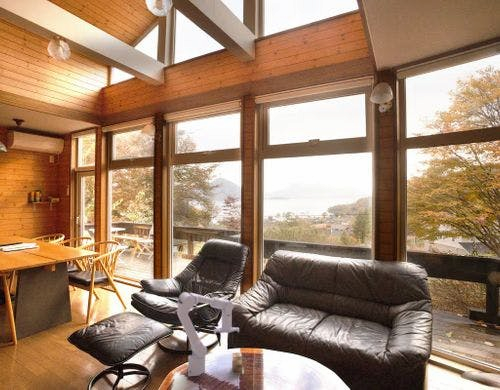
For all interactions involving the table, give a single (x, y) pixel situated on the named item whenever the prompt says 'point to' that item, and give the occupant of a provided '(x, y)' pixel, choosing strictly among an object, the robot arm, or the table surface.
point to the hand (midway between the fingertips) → (226, 345)
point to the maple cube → (237, 358)
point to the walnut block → (236, 368)
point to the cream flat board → (237, 373)
